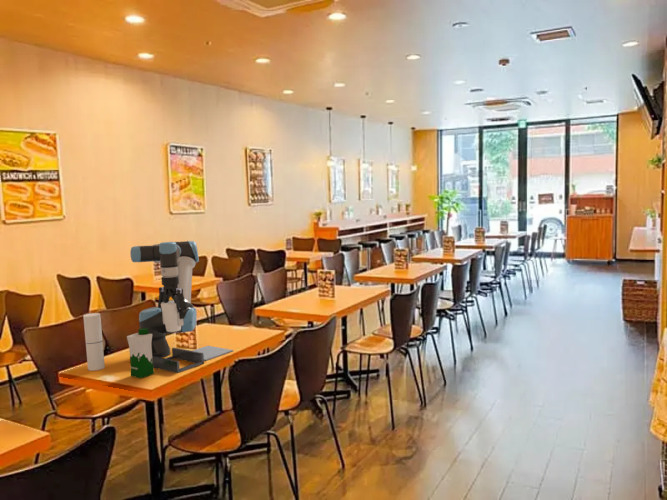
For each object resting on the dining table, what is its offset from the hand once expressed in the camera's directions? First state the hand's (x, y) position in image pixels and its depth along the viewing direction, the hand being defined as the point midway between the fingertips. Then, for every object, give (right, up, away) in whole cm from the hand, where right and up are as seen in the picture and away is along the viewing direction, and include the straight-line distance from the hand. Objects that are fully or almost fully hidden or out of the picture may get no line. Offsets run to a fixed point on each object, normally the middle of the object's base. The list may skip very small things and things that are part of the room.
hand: (173, 324), depth 261 cm
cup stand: (+1, -19, +2) cm, 19 cm away
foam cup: (0, -3, 0) cm, 3 cm away
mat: (+11, -17, +19) cm, 27 cm away
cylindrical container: (-36, -21, +2) cm, 41 cm away
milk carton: (-10, -21, -11) cm, 26 cm away
